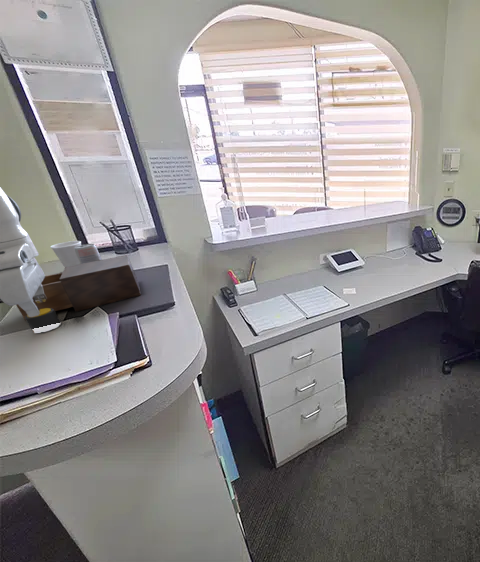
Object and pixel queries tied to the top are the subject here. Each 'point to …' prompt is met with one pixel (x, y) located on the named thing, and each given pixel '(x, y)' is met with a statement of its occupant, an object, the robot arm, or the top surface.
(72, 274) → the cabinet
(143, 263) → the top surface
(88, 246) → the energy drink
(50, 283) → the drawer
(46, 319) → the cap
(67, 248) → the dixie cup
